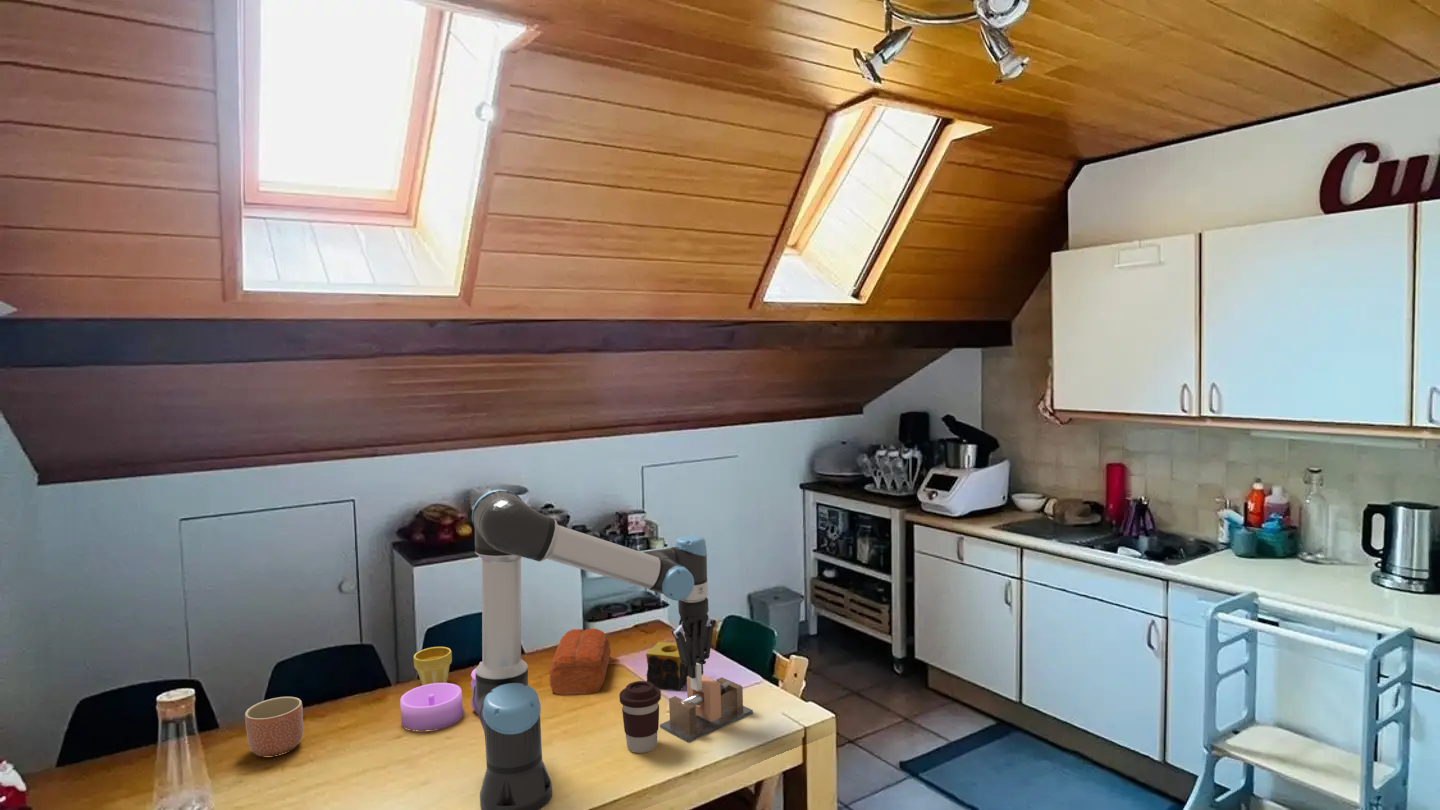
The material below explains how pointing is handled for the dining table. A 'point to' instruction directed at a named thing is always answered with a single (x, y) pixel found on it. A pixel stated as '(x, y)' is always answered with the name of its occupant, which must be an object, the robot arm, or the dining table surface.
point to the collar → (707, 698)
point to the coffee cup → (640, 715)
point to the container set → (433, 706)
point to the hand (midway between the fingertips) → (696, 688)
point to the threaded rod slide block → (694, 726)
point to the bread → (580, 662)
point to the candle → (666, 667)
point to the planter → (274, 725)
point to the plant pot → (433, 664)
